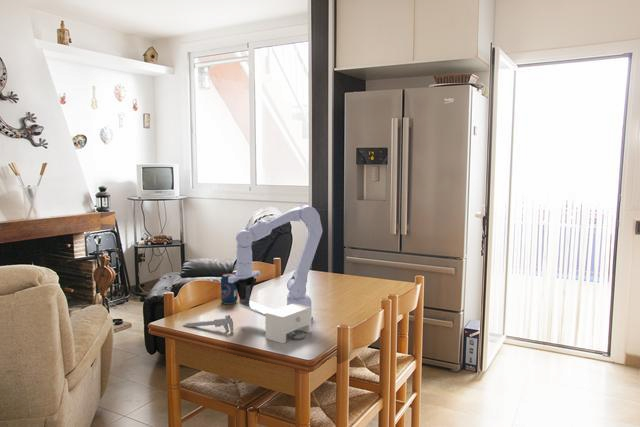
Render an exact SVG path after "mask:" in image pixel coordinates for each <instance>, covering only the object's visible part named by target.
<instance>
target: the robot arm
mask: <svg viewBox="0 0 640 427" xmlns="http://www.w3.org/2000/svg"><path fill="white" fill-rule="evenodd" d="M301 221H302V222H303V223H304V224H305V227H306V229H307V230H308V233H307V236H306V239H305V241H304V244H303V248H302V251H301V253H300V257H299V260H298V262H297V265H296V268H295V270H294V272H292V273H293V274H292V275H291V277H290V278H288V281H287V283H286V287H287V290H288V291H289V292H288V294H287V295H286V306H287V305H290V304H293V303H297V304H301V305H305V306H309V307H312V299H311V297H310V296H309V295H308V294H307V283H308V276H309V272H310V269H311V266H312V263H313V260H314V258H315V255H316V253H317V252H316V251H317V249H318V246H319V243H320V240H321V237H322V235H323V226H322V222H321V216H320V214H319V212H318V211H317V209H316V208H315V207H313V206H312V205H309V204H302V205H300V206H296V207H294V208H292V209H290V210H288V211H285V212H284V213H282V214H280V215H278V216H277V217H274V218H273V219H271V220H269V221H268V220H257V221H256V222H257V223H255V224H253V225H251V226H245V229H242V230H239V231H238V232H237V234H236V236H235V240H236V243H237V245H236V272H235V273H234V274H235V275H233V276H231V277H228V282H229V283H234V285H235V287H236V289H237V296H238V298H239V300H240V299H242V300H244V299H245V289H246V285H247V283H248V284H251V289H250V297H251V296H252V292H253V289H254V285H255V284H256V282H257V278H255V277H261V271H260V270H253V250H252V244H253V242H257V241H259V240H261V239H263V238H265V237H267V236H269V235H271V233H272V230H274V229H276V228H278V227H280V226H282V225H285V224H288V223H290V222H301ZM313 318H314V316H312V315H311V319H313Z"/></svg>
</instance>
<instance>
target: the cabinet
mask: <svg viewBox="0 0 640 427" xmlns="http://www.w3.org/2000/svg"><path fill="white" fill-rule="evenodd" d="M311 316H312V306H311V307H309V306H305V305H301V304H297V303H293V304H290V305H287V304H286V305H284V306H281V307H278V308H274V309H272V311H269V312H266V317H265V339H267V340H271V341H273V342H277V343H280V344H285V343H286V342H287V334H290V333H292V332H295V331H301V332H304V333H308V334H309V333H312V318H311Z"/></svg>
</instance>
